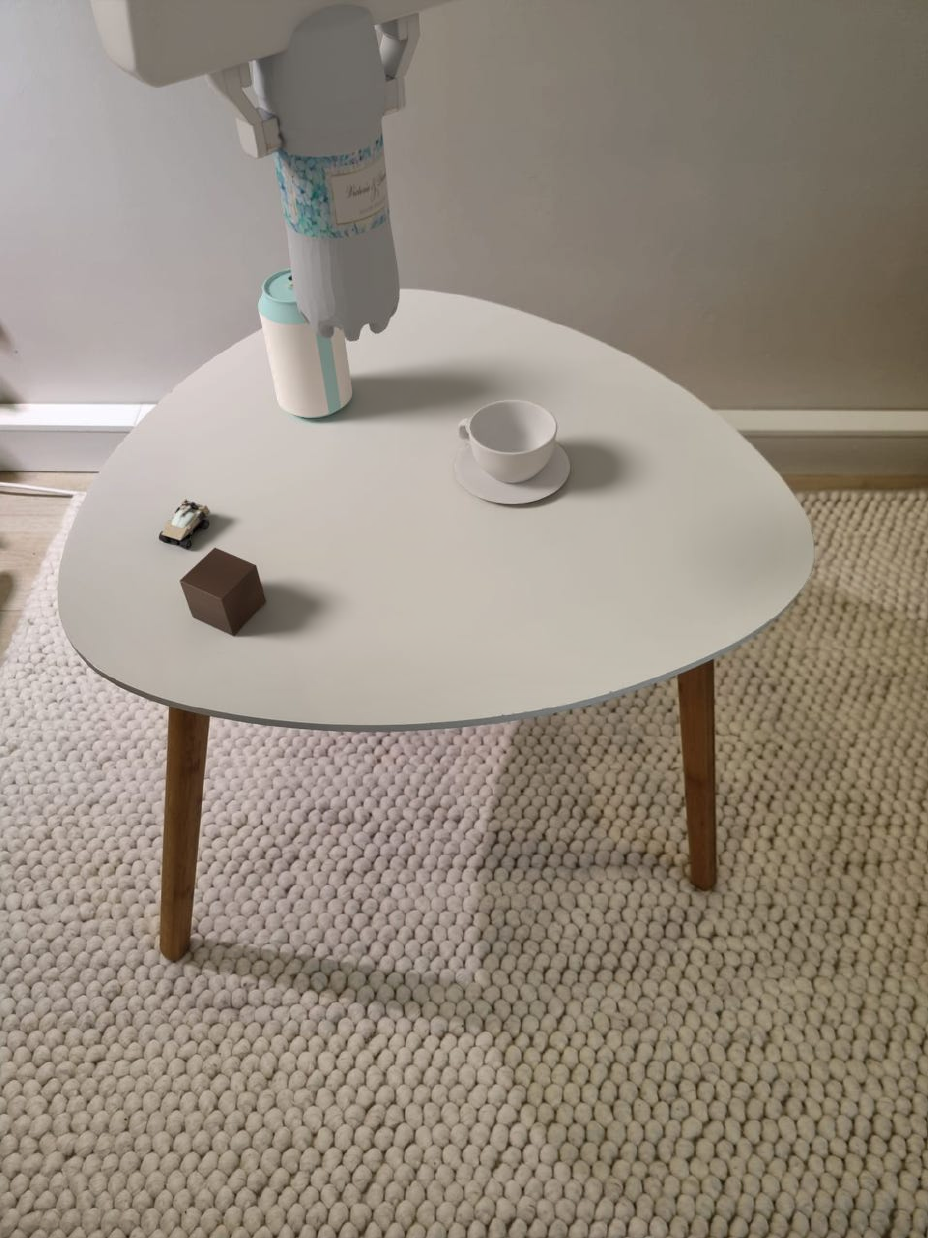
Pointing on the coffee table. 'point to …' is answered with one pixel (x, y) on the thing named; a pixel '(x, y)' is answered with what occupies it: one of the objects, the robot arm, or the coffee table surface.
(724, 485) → the coffee table surface
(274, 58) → the bottle
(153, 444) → the coffee table surface
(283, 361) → the can
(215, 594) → the walnut block
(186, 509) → the toy car
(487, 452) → the teacup
